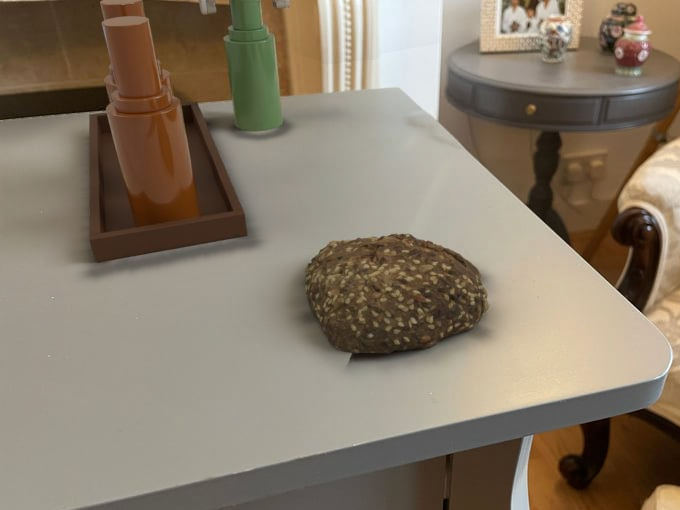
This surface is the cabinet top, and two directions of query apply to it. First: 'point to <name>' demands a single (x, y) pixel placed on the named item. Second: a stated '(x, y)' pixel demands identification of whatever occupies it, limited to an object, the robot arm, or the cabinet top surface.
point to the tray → (127, 241)
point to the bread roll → (393, 293)
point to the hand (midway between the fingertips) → (245, 10)
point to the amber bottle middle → (120, 4)
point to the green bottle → (252, 68)
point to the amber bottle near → (148, 128)
